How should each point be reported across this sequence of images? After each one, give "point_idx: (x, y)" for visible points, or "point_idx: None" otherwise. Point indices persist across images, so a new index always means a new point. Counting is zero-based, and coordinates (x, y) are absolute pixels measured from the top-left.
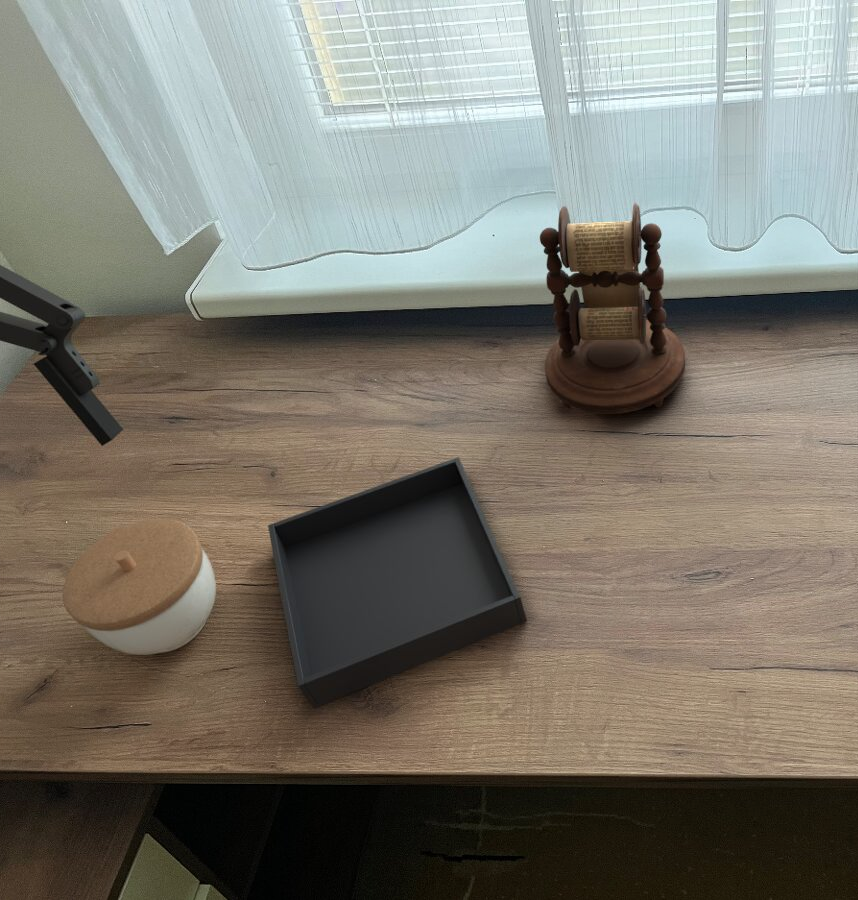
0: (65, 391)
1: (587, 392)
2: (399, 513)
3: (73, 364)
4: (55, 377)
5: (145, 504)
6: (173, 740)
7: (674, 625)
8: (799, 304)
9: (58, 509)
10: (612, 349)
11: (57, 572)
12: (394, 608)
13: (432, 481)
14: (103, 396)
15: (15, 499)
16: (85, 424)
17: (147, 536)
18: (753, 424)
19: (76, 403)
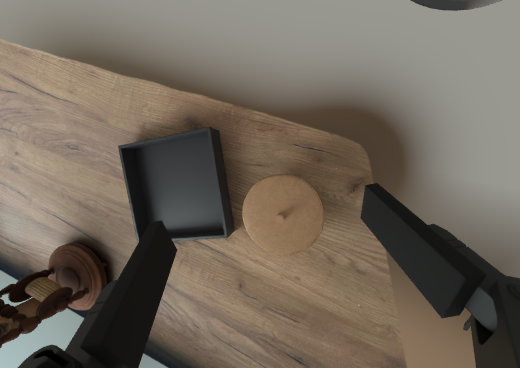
0: (123, 282)
1: (83, 259)
2: (178, 228)
3: (86, 322)
4: (108, 305)
5: (310, 296)
6: (281, 131)
7: (85, 127)
8: (17, 278)
9: (366, 318)
10: (68, 282)
11: (359, 266)
12: (182, 171)
13: None
14: None
15: (398, 342)
16: (150, 240)
17: (273, 237)
18: (44, 217)
19: (131, 263)
